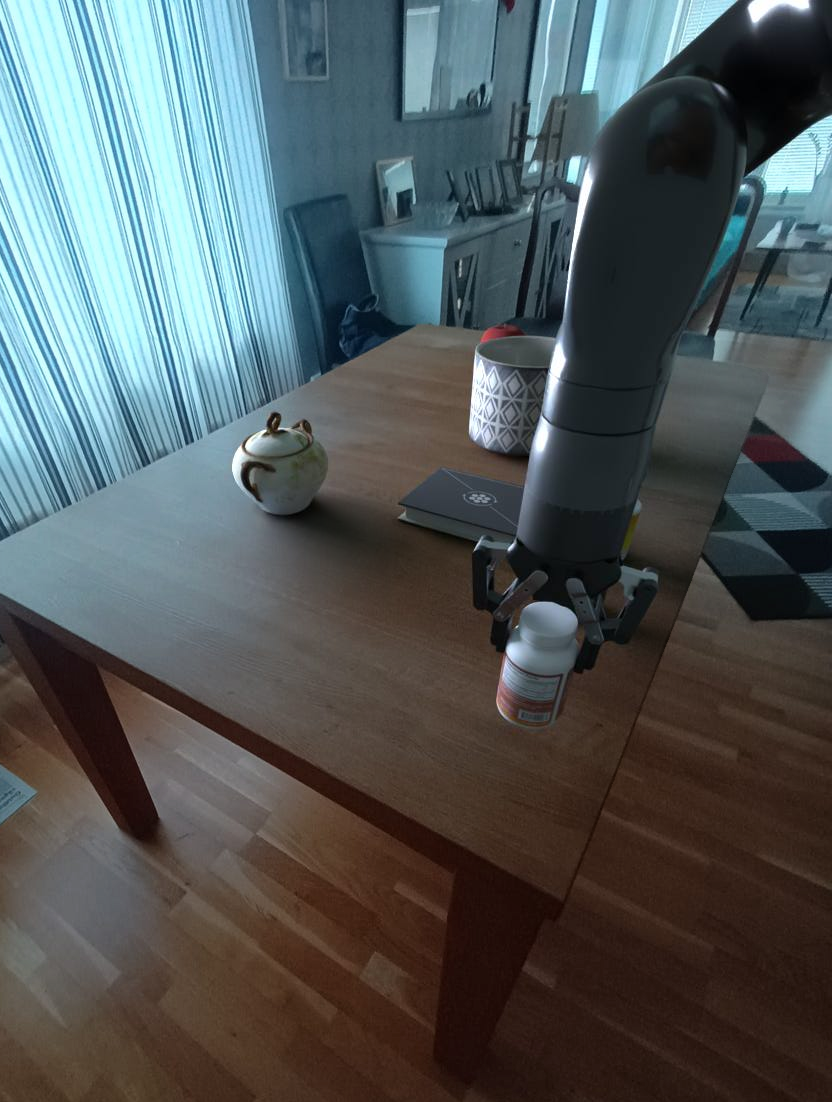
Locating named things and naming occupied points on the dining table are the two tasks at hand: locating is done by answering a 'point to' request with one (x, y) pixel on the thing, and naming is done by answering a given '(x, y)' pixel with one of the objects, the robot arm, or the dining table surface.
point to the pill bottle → (538, 666)
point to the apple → (501, 332)
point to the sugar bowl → (281, 466)
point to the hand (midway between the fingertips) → (540, 656)
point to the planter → (509, 392)
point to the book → (465, 506)
